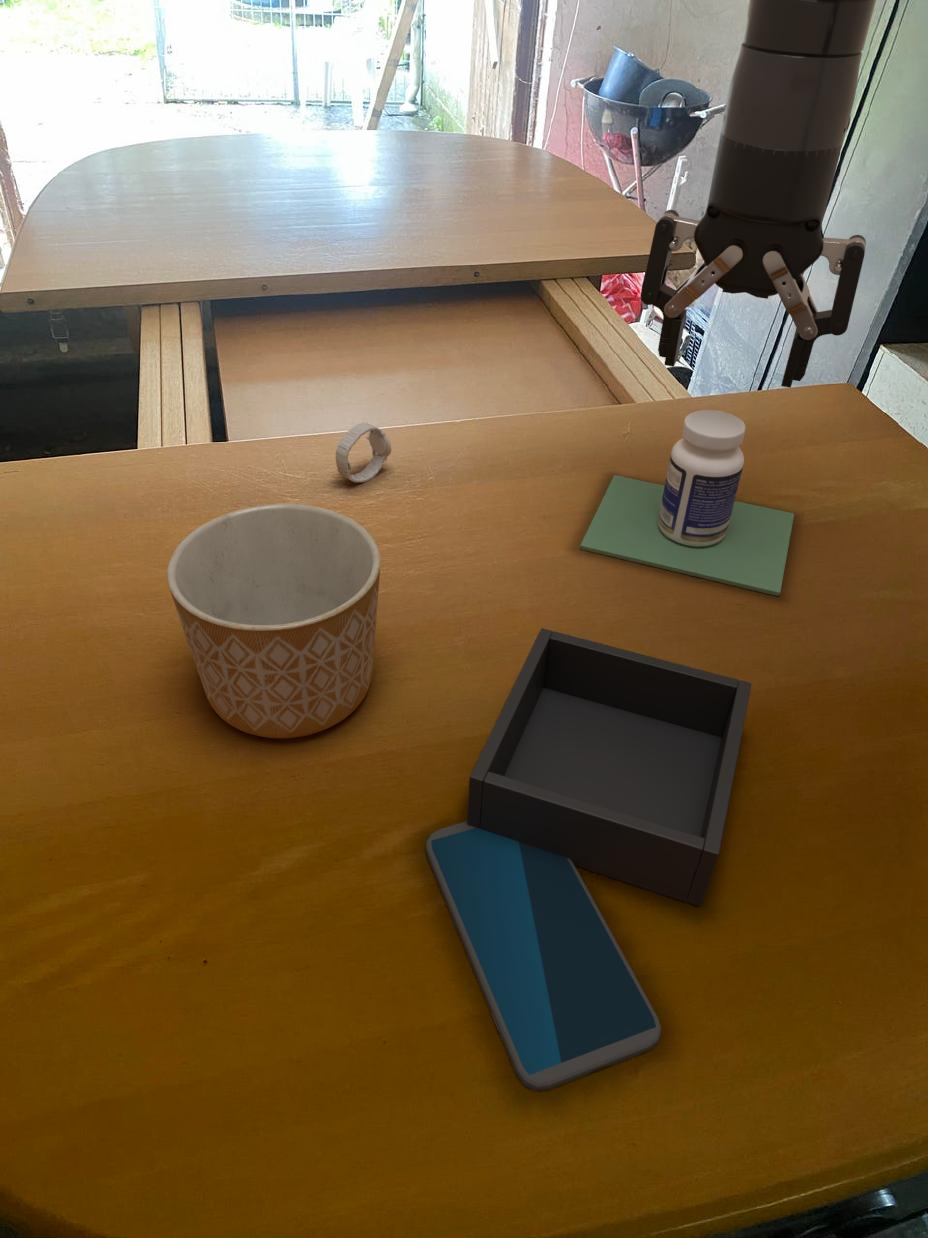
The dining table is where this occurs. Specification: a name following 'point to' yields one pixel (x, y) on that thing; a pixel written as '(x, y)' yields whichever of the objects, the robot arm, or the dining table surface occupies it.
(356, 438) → the wristwatch
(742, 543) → the mat
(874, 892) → the dining table surface
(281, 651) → the planter
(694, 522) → the pill bottle
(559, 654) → the black box
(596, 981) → the smartphone
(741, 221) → the robot arm
